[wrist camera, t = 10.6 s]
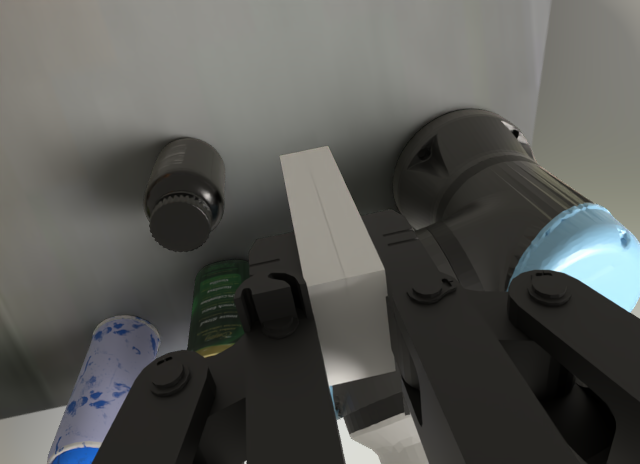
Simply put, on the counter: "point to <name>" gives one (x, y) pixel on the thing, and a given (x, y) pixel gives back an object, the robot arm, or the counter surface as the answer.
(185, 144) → the supplement bottle
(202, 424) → the robot arm
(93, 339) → the aerosol can
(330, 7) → the counter surface
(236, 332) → the coffee jar
